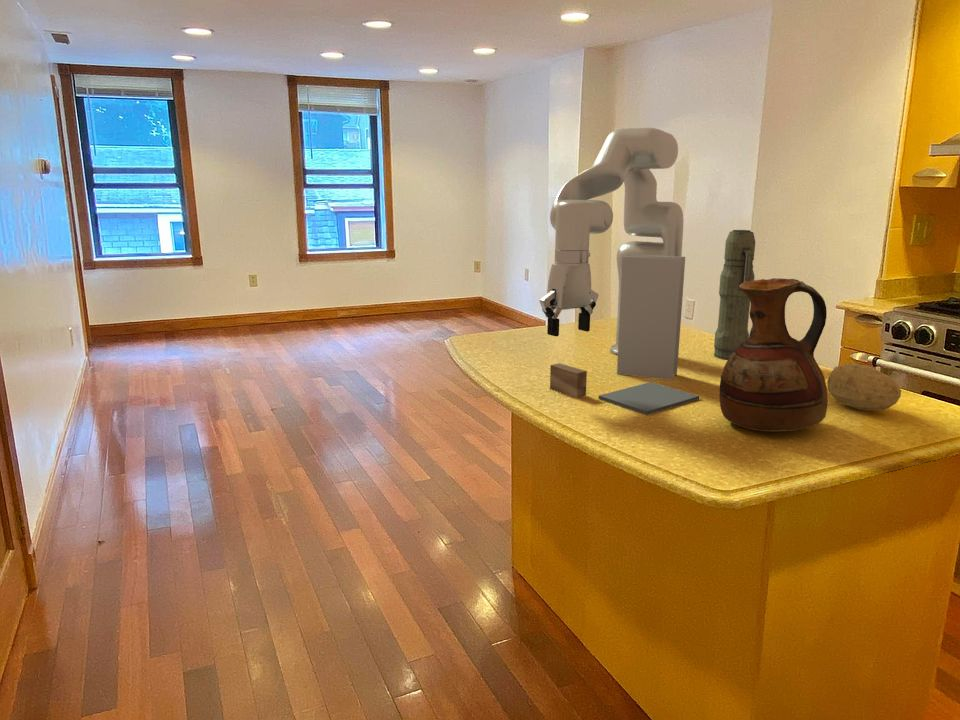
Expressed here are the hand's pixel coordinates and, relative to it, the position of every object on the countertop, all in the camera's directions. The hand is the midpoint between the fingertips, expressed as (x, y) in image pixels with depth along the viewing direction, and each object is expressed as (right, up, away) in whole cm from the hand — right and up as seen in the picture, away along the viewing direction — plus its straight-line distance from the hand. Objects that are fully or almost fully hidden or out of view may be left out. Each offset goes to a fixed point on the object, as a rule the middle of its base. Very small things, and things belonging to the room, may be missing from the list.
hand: (568, 332), depth 158 cm
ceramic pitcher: (+38, -20, -18) cm, 47 cm away
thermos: (+50, -5, +36) cm, 62 cm away
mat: (+18, -15, -1) cm, 24 cm away
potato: (+62, -17, -8) cm, 65 cm away
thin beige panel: (+23, -10, +19) cm, 31 cm away
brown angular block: (0, -14, +4) cm, 15 cm away
